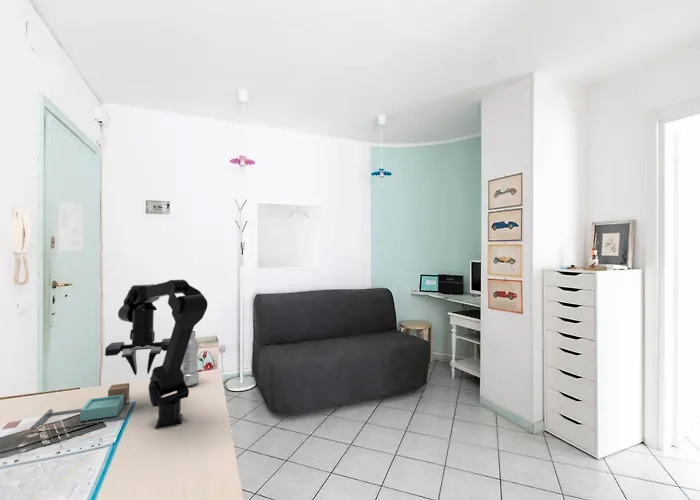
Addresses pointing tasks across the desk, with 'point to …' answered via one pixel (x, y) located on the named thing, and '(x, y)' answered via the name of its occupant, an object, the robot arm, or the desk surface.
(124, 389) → the walnut block
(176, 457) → the desk surface
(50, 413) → the gray metal rectangular frame
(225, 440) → the desk surface
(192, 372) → the plastic bottle
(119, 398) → the teal square tray
